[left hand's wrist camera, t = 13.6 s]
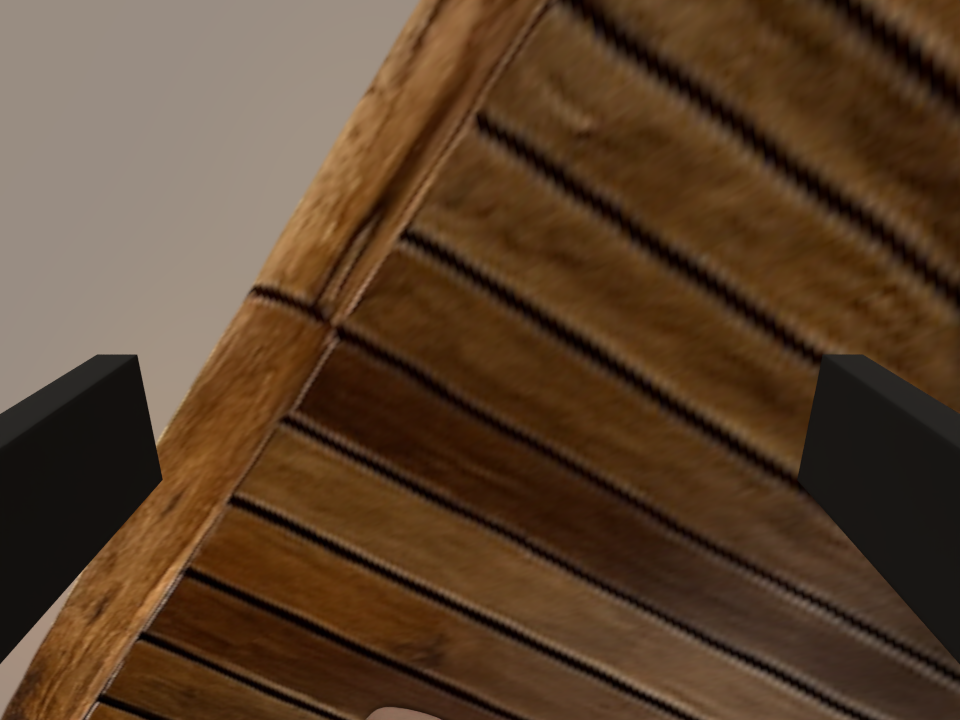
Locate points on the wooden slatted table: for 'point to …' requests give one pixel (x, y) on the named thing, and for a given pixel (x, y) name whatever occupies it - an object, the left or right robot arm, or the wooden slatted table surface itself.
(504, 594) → the wooden slatted table surface
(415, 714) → the anatomical model
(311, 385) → the wooden slatted table surface
